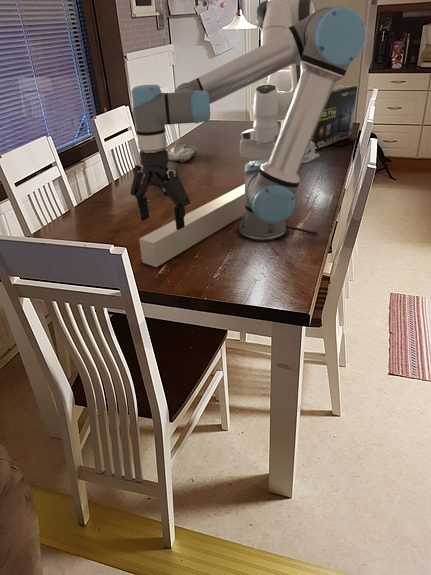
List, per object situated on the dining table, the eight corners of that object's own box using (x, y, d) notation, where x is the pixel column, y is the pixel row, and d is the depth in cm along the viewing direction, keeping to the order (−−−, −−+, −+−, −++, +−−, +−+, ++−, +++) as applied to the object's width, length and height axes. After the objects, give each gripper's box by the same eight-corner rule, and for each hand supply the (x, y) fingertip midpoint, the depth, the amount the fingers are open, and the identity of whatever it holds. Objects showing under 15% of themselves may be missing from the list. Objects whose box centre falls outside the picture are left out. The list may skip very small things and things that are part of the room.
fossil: (184, 156, 217) (163, 136, 220) (174, 174, 223) (154, 154, 227) (205, 153, 231) (186, 134, 234) (195, 171, 237) (176, 152, 240)
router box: (314, 151, 231) (318, 94, 217) (296, 148, 237) (299, 92, 224) (352, 138, 251) (358, 85, 238) (335, 135, 258) (340, 83, 245)
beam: (156, 267, 131) (153, 243, 127) (142, 262, 134) (139, 238, 130) (279, 193, 180) (280, 174, 177) (266, 191, 183) (267, 172, 179)
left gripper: (198, 150, 117) (204, 227, 128) (129, 141, 130) (140, 211, 141) (180, 158, 112) (187, 237, 123) (110, 147, 125) (122, 219, 136)
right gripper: (295, 135, 161) (293, 173, 169) (246, 129, 172) (246, 165, 179) (286, 139, 157) (285, 178, 164) (237, 133, 168) (237, 170, 175)
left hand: (162, 223), depth 132 cm, fingers open, 13 cm apart
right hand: (264, 172), depth 172 cm, fingers open, 8 cm apart
